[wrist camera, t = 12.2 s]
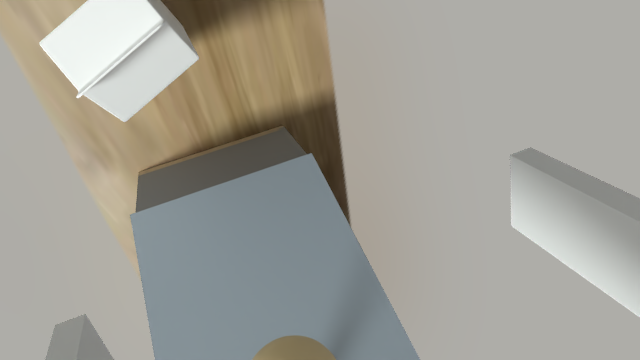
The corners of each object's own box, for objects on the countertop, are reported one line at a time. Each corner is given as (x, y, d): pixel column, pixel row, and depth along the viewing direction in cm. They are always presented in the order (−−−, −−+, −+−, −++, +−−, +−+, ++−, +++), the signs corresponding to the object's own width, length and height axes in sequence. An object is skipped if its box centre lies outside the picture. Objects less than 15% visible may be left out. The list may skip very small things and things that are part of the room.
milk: (84, 14, 41) (18, 51, 22) (135, -31, 40) (114, -34, 21) (137, 67, 44) (119, 141, 25) (185, 26, 44) (205, 67, 24)
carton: (138, 172, 48) (135, 216, 39) (282, 125, 51) (309, 157, 42) (207, 322, 58) (216, 383, 49) (323, 275, 61) (351, 326, 52)
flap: (132, 218, 39) (73, 133, 30) (312, 157, 42) (302, 64, 34) (186, 526, 26) (108, 526, 17) (441, 405, 29) (477, 355, 21)
